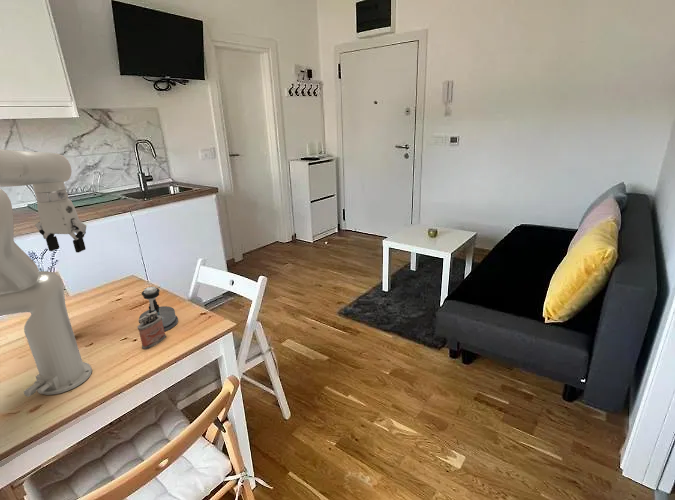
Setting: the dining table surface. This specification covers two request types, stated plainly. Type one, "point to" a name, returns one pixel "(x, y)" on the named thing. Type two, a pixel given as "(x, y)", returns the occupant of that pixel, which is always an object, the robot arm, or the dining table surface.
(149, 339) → the lighter
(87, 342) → the dining table surface
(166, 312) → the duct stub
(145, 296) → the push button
